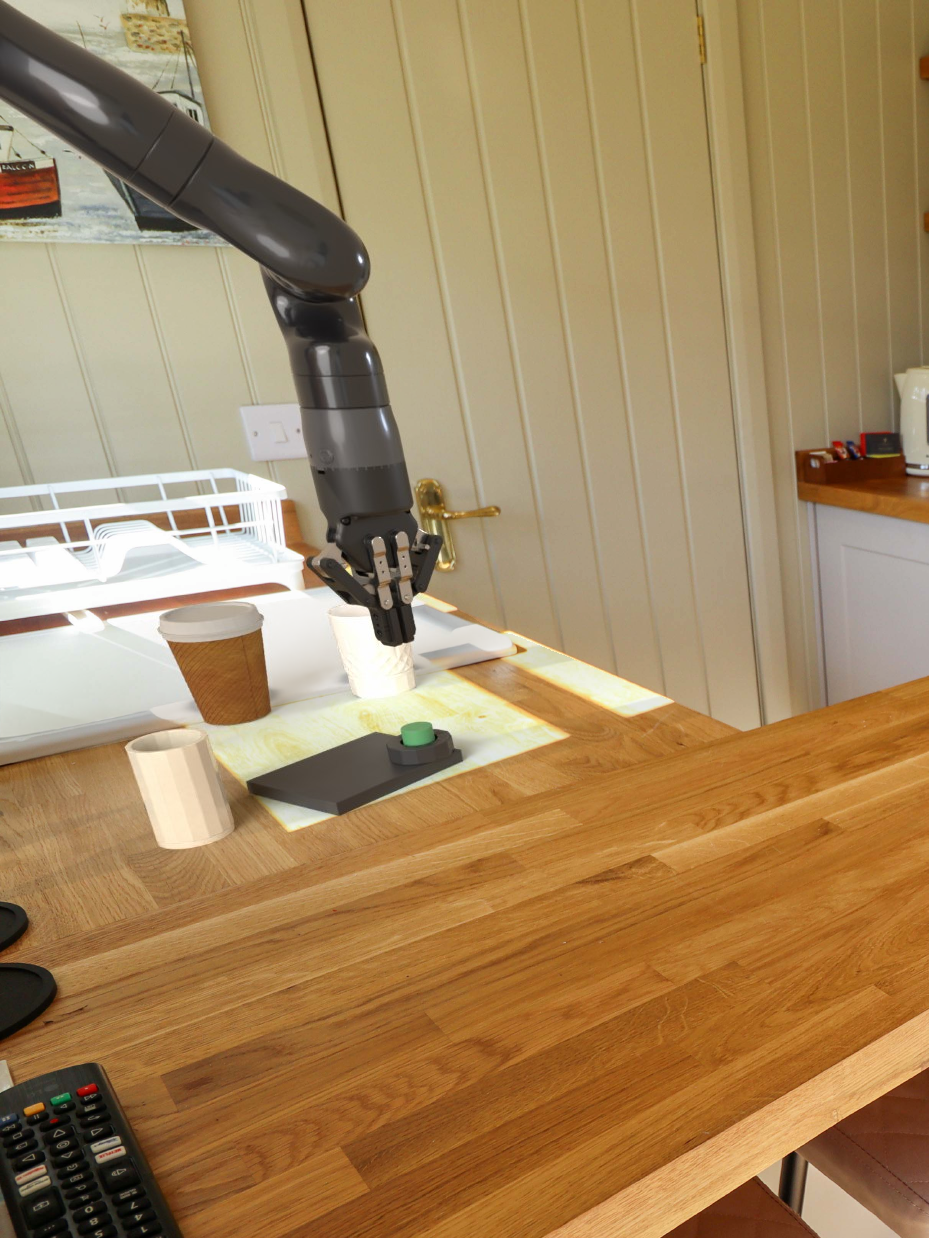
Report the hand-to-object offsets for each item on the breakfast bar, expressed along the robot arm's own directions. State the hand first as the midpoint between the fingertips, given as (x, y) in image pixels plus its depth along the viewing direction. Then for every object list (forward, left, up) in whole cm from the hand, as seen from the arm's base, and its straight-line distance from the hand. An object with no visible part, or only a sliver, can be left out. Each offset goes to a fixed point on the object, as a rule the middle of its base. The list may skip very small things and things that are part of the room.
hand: (397, 643), depth 105 cm
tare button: (0, 0, -10) cm, 10 cm away
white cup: (+15, +24, -13) cm, 31 cm away
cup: (-19, +6, -13) cm, 24 cm away
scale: (-5, +4, -13) cm, 14 cm away
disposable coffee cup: (+2, +30, -13) cm, 33 cm away
